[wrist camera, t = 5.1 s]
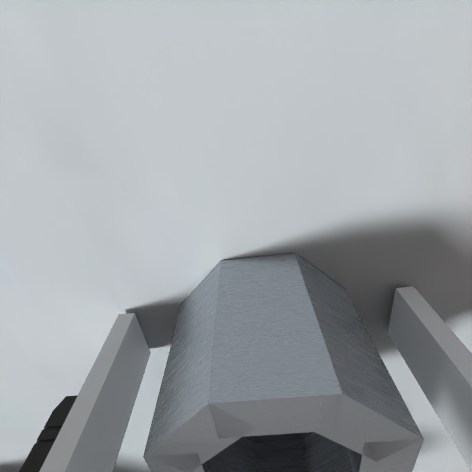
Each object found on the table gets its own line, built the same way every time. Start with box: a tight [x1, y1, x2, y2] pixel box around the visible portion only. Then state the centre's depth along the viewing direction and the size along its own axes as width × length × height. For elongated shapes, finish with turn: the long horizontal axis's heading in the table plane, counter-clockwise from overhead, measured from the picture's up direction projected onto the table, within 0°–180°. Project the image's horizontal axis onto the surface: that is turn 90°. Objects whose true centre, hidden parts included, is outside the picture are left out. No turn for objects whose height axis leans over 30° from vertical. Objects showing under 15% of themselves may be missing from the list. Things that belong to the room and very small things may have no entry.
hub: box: [143, 253, 424, 472], centre depth 11 cm, size 7×7×6 cm
